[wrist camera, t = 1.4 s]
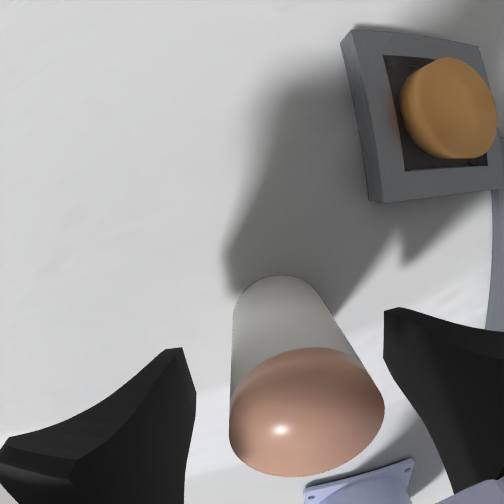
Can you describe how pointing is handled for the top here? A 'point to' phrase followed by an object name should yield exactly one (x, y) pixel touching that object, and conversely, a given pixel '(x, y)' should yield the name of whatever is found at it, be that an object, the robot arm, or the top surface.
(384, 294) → the top surface
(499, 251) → the picture board
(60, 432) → the robot arm
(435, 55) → the button housing
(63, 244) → the top surface
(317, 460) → the white and brown cylinder
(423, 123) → the button
